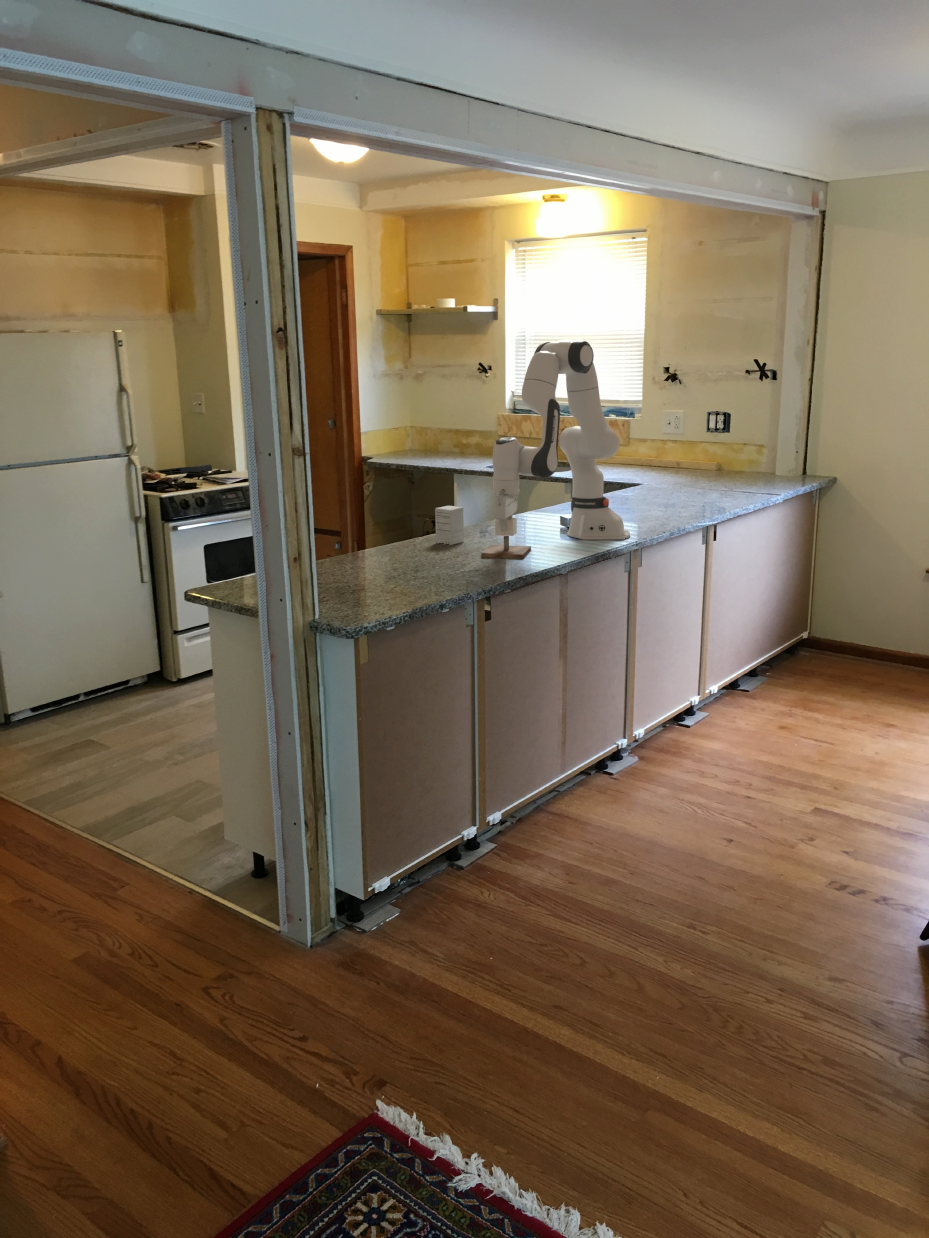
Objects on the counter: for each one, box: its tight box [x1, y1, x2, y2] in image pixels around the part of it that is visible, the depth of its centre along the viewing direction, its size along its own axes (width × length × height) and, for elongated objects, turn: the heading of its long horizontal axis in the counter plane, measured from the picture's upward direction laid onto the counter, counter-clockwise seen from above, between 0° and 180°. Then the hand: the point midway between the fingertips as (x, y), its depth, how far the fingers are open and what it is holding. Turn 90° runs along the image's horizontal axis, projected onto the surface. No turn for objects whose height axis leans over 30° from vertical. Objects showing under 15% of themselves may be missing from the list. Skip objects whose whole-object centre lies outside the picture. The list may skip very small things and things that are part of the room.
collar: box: [494, 517, 518, 537], centre depth 331 cm, size 6×6×5 cm
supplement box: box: [434, 505, 465, 546], centre depth 352 cm, size 7×7×13 cm
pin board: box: [480, 536, 532, 560], centre depth 332 cm, size 14×14×6 cm
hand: (506, 529), depth 331 cm, fingers closed on collar, 6 cm apart
